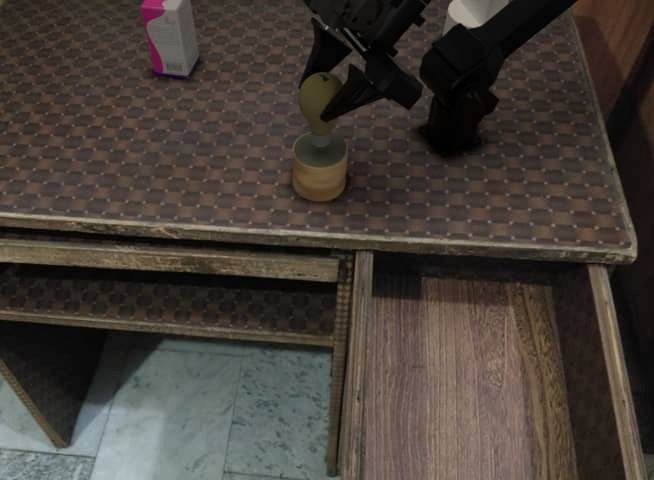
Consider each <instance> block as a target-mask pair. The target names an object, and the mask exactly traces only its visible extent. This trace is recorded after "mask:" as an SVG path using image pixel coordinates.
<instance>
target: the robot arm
mask: <svg viewBox="0 0 654 480" xmlns="http://www.w3.org/2000/svg"><path fill="white" fill-rule="evenodd" d="M432 1H433V0H302V3H304V5H306V7H307V8H308V9H309V10H310V11H311V13H313V14H314V15H317V17H316V18H315V17H313V16H311V17H310V23H311V25H312V30H313V38H314V40H313V44H312V48H311V51H310V54H309V57H308V60H307V63H306V65H305V68H304V70H303V73H302V76H301V78H300V80H299V81H300V82H299V84H298V87H297V89H298V91H299V90H300V88H301V85H302V84H303V82H304V81H305V80H306V79H307V78H308V77H310V76H311V75H313V74H315V73H320V72H327V73H331V72H332V71H333V70H334V69H335V68H336V67H337V66H338V65H339V64H340V63H342V61H344V60H345V59H346V58H347V57H348V56H349V55H351V53H353V51H354V50H355V51H356V52H357V53H358V54H359V55H360V57H361V58H362V59H363V60H364V61H365V65H364V66H363V67H362V68H361V69H360V68H359V67H357V66H356V65H354V64H353V63H351V62H349V64H348V71H347V78H346V81H345V82H344V83H343V86H342V87H341V88H340V90H339V91H338V92H337V94H336V95H335V96H334V98H333V99H332V100H331V101H330V103H329V104H328V105H327V107H326V108H325V110H324V111H323V113H322V114H321V116H320V119H321V120H322V121H323V122H325V123H327V122H329V121H331V120H333V119H336V118H338V119H339V118H340V117H342V116H344V115H346V114H348V113H350V112H352V111H354V110H357V109H359V108H362V107H364V106H366V105H369V104H372V103H375V102H377V101H380V100H383V99H385V100H386V101H394V102H395V103H397V104H398V105H400V106H401V107H403V108H405V109H406V110H407V111H410V110H411V109H412V108H413V107H414V106H415V105H416V103H418V102H419V100H420V99H421V98H422V94H423V88H424V85H425V86H426V88H427V89H428V90H430V91H431V92H432V93H433V96H432V98H431V102H430V107H429V111H428V112H429V113H428V116H427V123H425V124H421V125H420V126H418V129H417V131H418V132H419V134H420V135H421V136H422V138H424V139H425V141H426V142H428V144H429V145H430V146H431V147H432V149H434V150H435V151H436V152H437V153H438V155H440V157H442V158H446V157H449V156H452V155H455V154H457V153H460V152H462V151H465V150H467V149H470V148H472V147H475V146H477V145H478V146H479V145H480V144H483V139H484V138H483V137H481V135H480V134H479V133H478V131H477V130H478V127H479V124H480V123H481V122H482V121H483V119H484V118H485V117H486V116H489V115H491V114H492V113H493V112H494V111H495V109H496V107H497V106H498V104H499V103H500V98H499V97H498V96H497V95H496V94H495V93H494V92H493V91H492V90H491V89H490V88H492V86H493V85H494V84H495V83H496V80H497V79H498V76H499V75H500V72H501V69H502V67H503V64H504V62H505V61H506V60H507V58H508V57H510V56H511V55H512V54H513V53H515V52H516V51H517V50H518V49H519V48H521V47H522V46H523V45H524V44H526V43H527V42H528V41H530V40H531V39H533V37H535V36H536V35H537V34H539V33H540V32H541V31H542V30H543V29H545V28H546V27H547V26H548V25H550V24H551V23H552V22H554V21H555V20H556V19H557V18H558V17H559V16H561V15H562V14H564V13H565V12H566V11H567V10H568V9H570V8H571V7H573V5H574V4H576V3H577V2H578V1H579V0H511V1H510V2H508V4H507V5H506V6H505V7H504V8H502V9H501V10H500V11H499V12H498V13H496V14H495V15H494V16H493V17H492V18H490V19H489V20H488V21H487V22H485V23H484V24H483V25H481V26H479V27H475V28H471V29H467V28H466V27H465V26H464V25H463V24H462V23H459V24H457V25H455V26H453V27H452V28H451V29H450V30H449V31H448V32H447V33H446V34H445V35H444V36H443V35H442V36H441V37H440V38H439V39H437V40H434V41H432V42H431V43H430V45H431V48H429V49H428V51H426V53H424V55H423V56H422V58H421V63H420V66H419V70H418V76H419V79H420V80H419V79H418V78H417V76H415V75H414V73H413V72H412V71H410V70H409V68H407V67H406V66H405V65H404V64H402V63H401V62H400V61H399V60H397V59H396V58H395V57H397V55H398V53H399V50H398V49H397V48H396V47H395V45H396V44H397V42H398V41H399V40H400V39H401V38H402V37H403V36H404V34H405V33H406V32H407V31H408V30H409V29H410V27H411V26H412V25H413V24H414V25H415V26H416V27H417V28H419V29H421V27H422V25H423V24H424V23H425V22H426V21H427V20H426V18H425V17H424V16H423V15H421V14H422V13H423V12H424V11H425V9H426V8H427V6H429V5H430V3H432ZM347 42H348V43H347ZM349 44H350V45H351V46H352V47H353V48H351V46H350V45H349ZM353 49H354V50H353ZM422 82H423V84H422Z"/></svg>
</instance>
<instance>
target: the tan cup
mask: <svg viewBox="0 0 654 480" xmlns="http://www.w3.org/2000/svg"><path fill="white" fill-rule="evenodd" d="M291 149H292V185H293V189H294V190H295V192H296V194H298V195H299V196H300V197H301V198H303V199H305V200H308V201H310V202H327V201H331V200H333V199H335V198H337V197H339V196H340V195H341V194H342V193H343V191H344V190H345V188H346V182H347V181H346V180H347V171H348V170H347V168H348V157H349V156H348V155H349V146H348V143H347V142H346V140H345V139H344V138H343V137H342V136H341V135H340V134H337V133H336V132H333V131H331V142H330V144H329V145H327V146H325V147H317V146H315V145H313V144H312V142H311V131H308V132H305V133H303V134H302V135H300V136H299V137H298V138H296V140H295V141H294V143H293V145H292V148H291Z"/></svg>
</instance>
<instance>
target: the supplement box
mask: <svg viewBox="0 0 654 480" xmlns="http://www.w3.org/2000/svg"><path fill="white" fill-rule="evenodd" d="M191 3H192V1H191V0H144V1H143V2H142V3H141V5H140V11H141V16H142V20H143V24H144V30H145V33H146V34H145V35H146V38H147V43H148V46H149V52H150V56H151V61H152V66H153V70H154V74H155V76H161V77H169V78H177V79H187V80H188V79H189V78H190V77H191V75H192V73H193V71H194V69H195V67H196V66H197V63H198V61H199V60H200V53H199V52H200V51H199V46H198V39H197V34H196V27H195V22H194V21H195V20H194V15H193V9H192V4H191Z"/></svg>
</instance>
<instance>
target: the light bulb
mask: <svg viewBox="0 0 654 480" xmlns="http://www.w3.org/2000/svg"><path fill="white" fill-rule="evenodd" d="M343 85H344V83H343V82H342V81H341V79H340V78H339V77H337V75H335V74H333V73H331V72H329V73H327V72H320V73H315V74H313V75H311V76H310V77H308V78H307V79H306V80H305V81H304V82H303V84H302V85H301V88H300V90H299V89H298V94H297V96H298V97H297V102H298V107H299V109H300V112H301V114H302V115H303V117H304V118H305V120H306V121H307V124H308V128H309V131H310V132H311V142H312V144H313V145H315V146H317V147H325V146H327V145H329V144H330V142H331V132H333V130H334V128H335V125H336V122H337V121H338V119H339V117H338V118H336V119H333V120H331V121H329V122H327V123H325V122H323V121H322V120H321V119H320V116H321V114H322V113H323V111H324V110H325V108H326V107H327V105H328V104H329V103H330V101H331V100H332V99H333V98H334V96H335V95H336V94H337V92H338V91H339V90H340V88H341V87H342V86H343Z"/></svg>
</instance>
